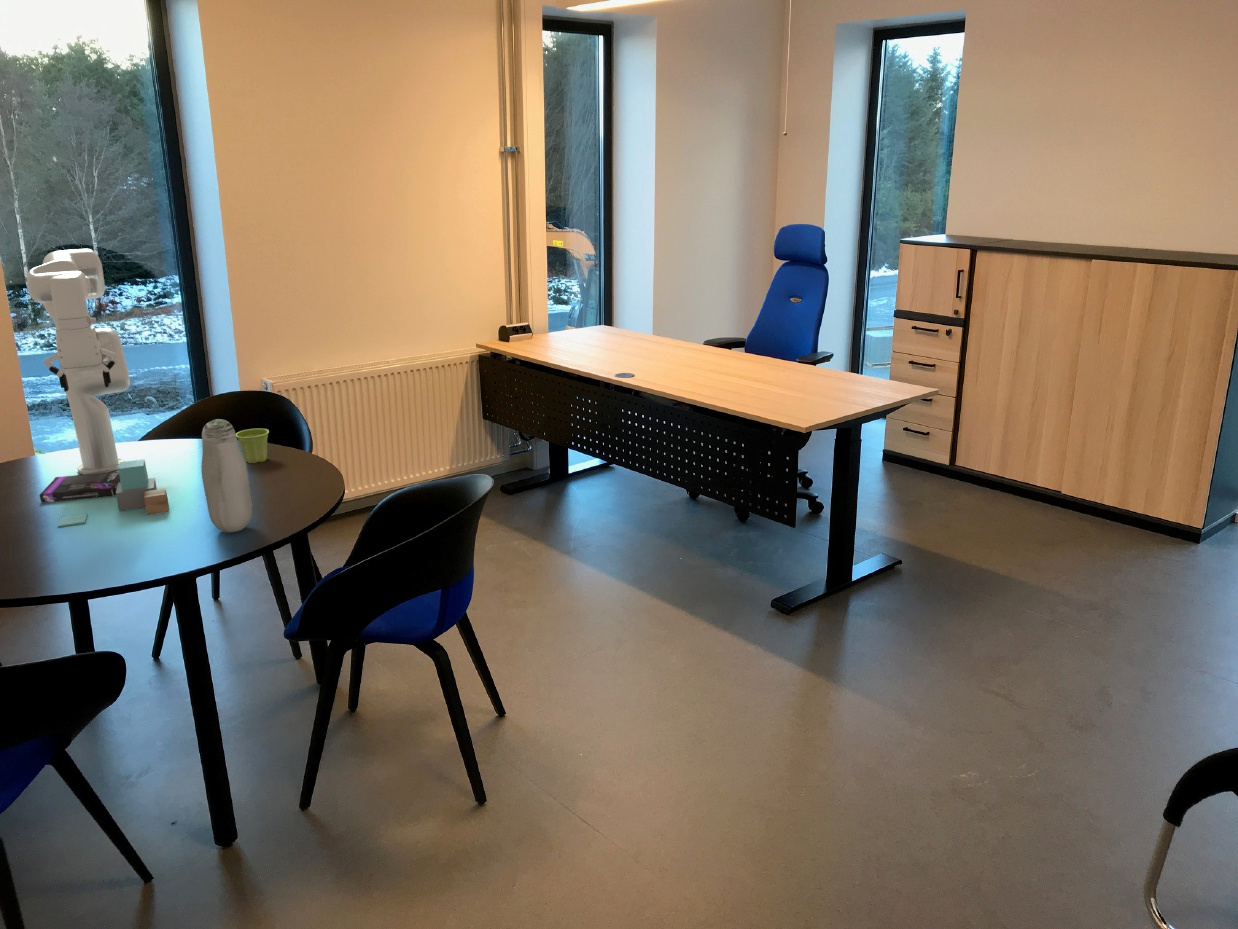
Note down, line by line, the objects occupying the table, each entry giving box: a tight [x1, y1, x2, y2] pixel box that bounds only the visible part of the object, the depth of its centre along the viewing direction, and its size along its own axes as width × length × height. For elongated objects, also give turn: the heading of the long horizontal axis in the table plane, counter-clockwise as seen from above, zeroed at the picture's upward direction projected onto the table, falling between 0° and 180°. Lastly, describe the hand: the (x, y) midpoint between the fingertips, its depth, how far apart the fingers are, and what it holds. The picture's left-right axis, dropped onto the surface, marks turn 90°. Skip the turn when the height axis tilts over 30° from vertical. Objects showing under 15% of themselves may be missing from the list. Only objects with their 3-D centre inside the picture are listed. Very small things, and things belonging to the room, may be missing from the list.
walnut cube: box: [144, 488, 170, 516], centre depth 259 cm, size 5×5×5 cm
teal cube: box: [117, 458, 149, 491], centre depth 263 cm, size 6×6×6 cm
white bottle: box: [200, 418, 253, 533], centre depth 241 cm, size 10×10×28 cm
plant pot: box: [235, 428, 270, 464], centre depth 297 cm, size 9×9×9 cm
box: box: [38, 471, 121, 503], centre depth 276 cm, size 14×4×20 cm
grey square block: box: [115, 477, 158, 512], centre depth 265 cm, size 9×9×5 cm
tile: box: [57, 513, 88, 528], centre depth 254 cm, size 6×6×1 cm
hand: (87, 388), depth 262 cm, fingers open, 9 cm apart
